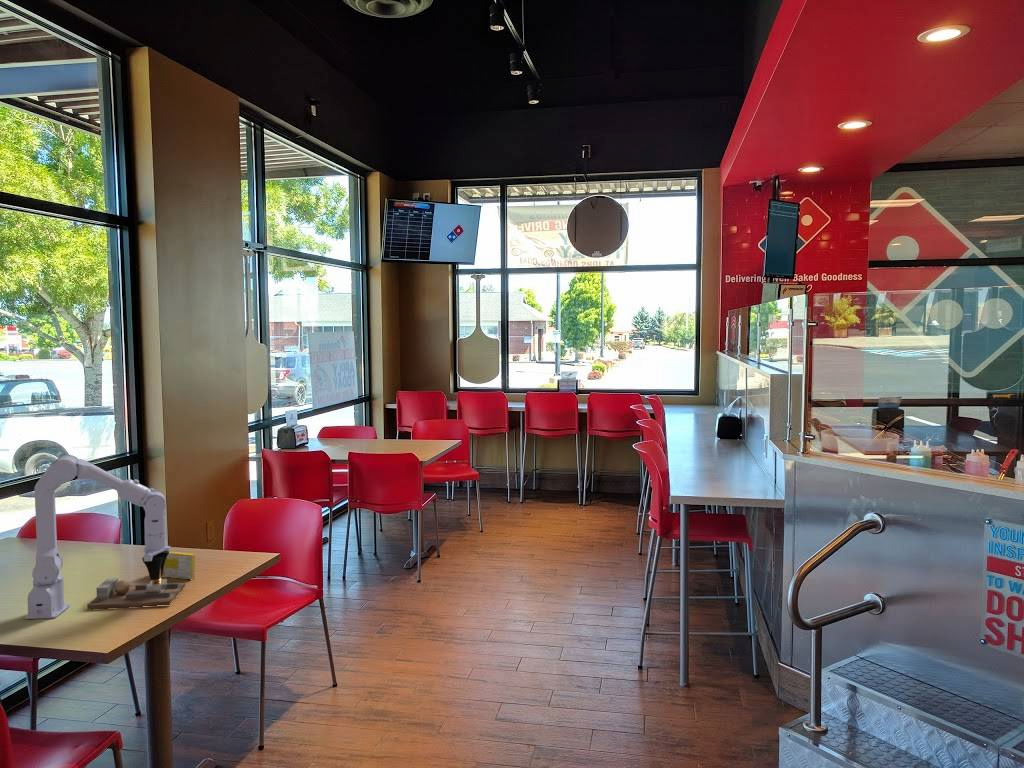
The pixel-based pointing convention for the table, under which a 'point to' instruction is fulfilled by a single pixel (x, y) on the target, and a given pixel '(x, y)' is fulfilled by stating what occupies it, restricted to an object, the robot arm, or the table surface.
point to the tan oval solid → (122, 587)
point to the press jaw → (157, 585)
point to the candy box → (179, 565)
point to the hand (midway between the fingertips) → (156, 577)
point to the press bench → (132, 596)
